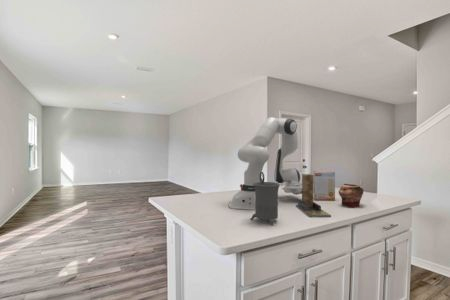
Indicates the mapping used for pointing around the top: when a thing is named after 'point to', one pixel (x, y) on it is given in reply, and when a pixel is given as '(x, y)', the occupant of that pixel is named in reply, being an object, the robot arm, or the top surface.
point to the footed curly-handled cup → (266, 200)
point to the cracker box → (324, 185)
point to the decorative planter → (351, 195)
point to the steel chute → (312, 210)
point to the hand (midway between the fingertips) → (302, 191)
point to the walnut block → (307, 189)
